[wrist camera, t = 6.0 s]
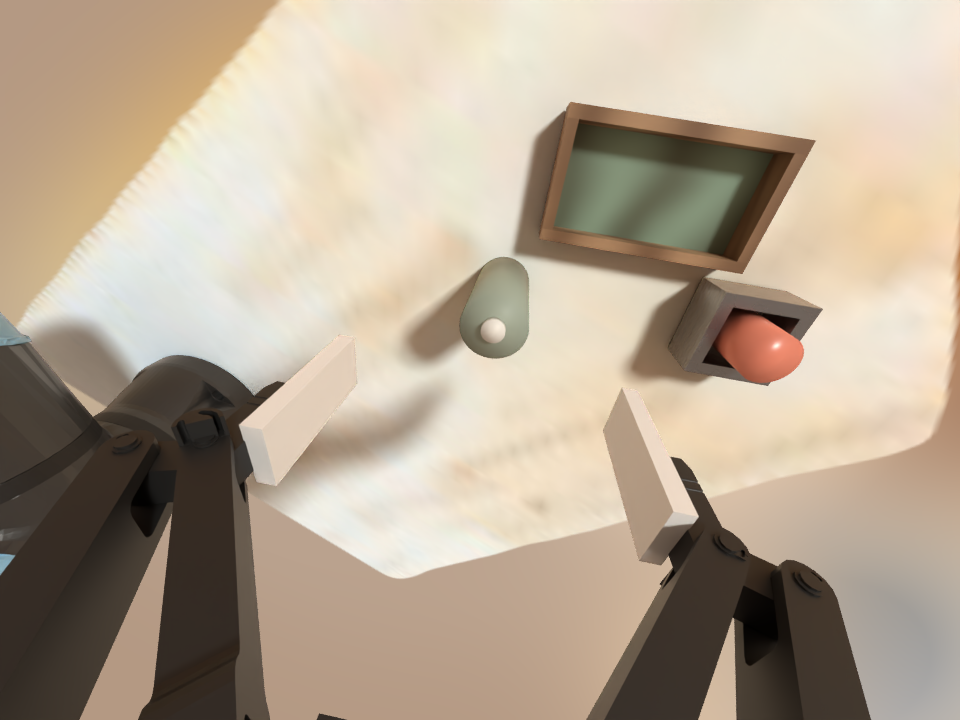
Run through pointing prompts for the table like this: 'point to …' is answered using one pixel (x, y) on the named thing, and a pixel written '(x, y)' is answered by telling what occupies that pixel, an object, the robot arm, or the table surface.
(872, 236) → the table surface
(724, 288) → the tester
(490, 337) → the cell
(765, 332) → the coral capsule
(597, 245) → the wooden tray
